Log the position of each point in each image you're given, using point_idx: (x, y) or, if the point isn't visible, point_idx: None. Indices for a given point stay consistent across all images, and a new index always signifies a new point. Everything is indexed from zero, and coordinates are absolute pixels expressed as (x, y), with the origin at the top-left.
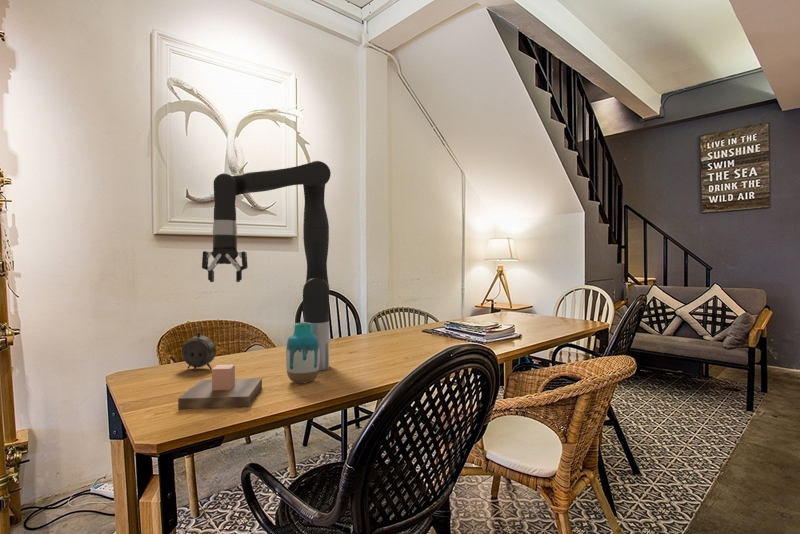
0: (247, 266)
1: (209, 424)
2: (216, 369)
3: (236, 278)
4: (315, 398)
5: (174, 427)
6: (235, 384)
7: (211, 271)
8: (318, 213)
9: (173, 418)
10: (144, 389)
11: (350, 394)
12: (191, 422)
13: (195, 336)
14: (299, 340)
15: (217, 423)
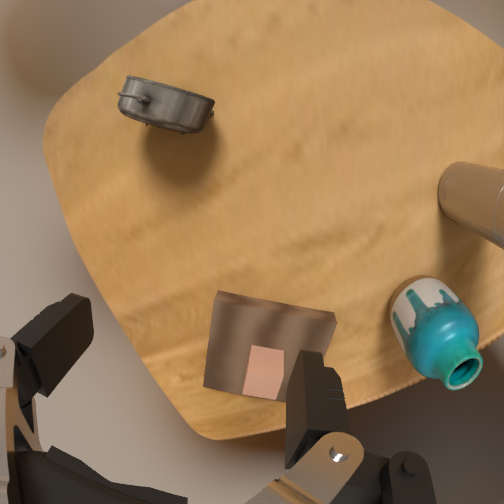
0: (427, 474)
1: (256, 422)
2: (250, 395)
3: (287, 411)
4: (397, 378)
5: (219, 418)
6: (284, 349)
7: (45, 394)
8: None
9: (209, 398)
10: (117, 256)
11: None
12: (234, 413)
13: (135, 79)
14: (429, 377)
15: (265, 422)
